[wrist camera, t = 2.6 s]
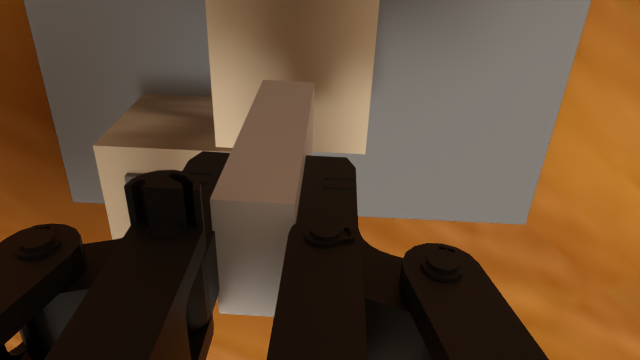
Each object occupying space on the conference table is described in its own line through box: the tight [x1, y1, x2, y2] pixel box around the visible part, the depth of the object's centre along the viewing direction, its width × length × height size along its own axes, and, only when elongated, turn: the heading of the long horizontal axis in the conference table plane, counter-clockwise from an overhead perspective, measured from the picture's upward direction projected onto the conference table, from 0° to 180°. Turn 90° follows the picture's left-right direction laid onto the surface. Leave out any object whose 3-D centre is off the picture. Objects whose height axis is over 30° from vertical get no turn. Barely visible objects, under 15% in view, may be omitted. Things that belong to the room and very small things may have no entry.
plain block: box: [205, 0, 380, 154], centre depth 21 cm, size 6×6×6 cm
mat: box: [24, 0, 591, 224], centre depth 24 cm, size 26×20×1 cm
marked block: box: [93, 94, 232, 240], centre depth 24 cm, size 6×6×6 cm
